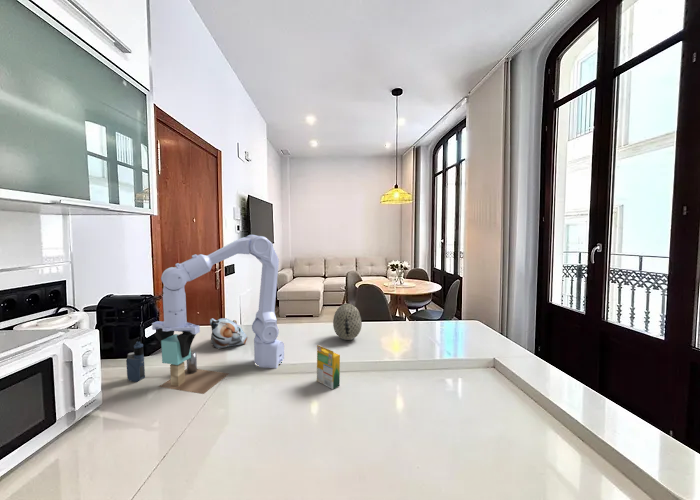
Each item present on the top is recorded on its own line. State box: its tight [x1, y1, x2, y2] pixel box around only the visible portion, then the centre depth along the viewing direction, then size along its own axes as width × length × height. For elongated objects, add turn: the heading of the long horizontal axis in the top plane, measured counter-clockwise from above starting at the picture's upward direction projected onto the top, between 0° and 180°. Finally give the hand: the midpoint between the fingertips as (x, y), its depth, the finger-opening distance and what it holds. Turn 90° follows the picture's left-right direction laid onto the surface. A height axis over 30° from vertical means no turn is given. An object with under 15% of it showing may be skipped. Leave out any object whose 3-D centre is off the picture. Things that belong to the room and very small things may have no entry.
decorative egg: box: [332, 303, 362, 341], centre depth 132 cm, size 12×12×15 cm
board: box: [157, 368, 230, 395], centre depth 96 cm, size 15×12×1 cm
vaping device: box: [125, 341, 146, 383], centre depth 97 cm, size 3×5×12 cm, turn 78°
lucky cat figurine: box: [209, 317, 249, 349], centre depth 124 cm, size 15×12×14 cm
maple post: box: [169, 361, 186, 386], centre depth 94 cm, size 3×3×6 cm
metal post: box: [186, 351, 198, 374], centre depth 101 cm, size 3×3×6 cm
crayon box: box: [316, 344, 341, 390], centre depth 97 cm, size 7×3×12 cm, turn 47°
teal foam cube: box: [160, 333, 192, 365], centre depth 93 cm, size 5×5×7 cm
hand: (176, 355), depth 93 cm, fingers closed on teal foam cube, 5 cm apart
